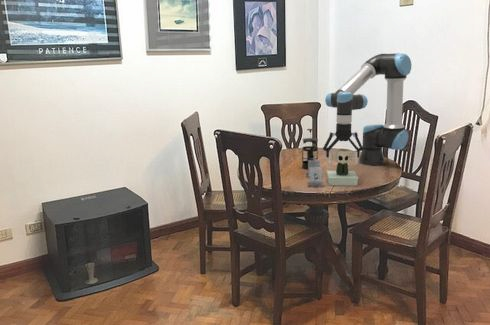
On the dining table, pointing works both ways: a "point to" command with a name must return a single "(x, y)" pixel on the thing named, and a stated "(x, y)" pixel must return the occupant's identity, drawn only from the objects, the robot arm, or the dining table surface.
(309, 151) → the french press
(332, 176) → the stand
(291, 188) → the dining table surface
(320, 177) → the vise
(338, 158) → the character mug
